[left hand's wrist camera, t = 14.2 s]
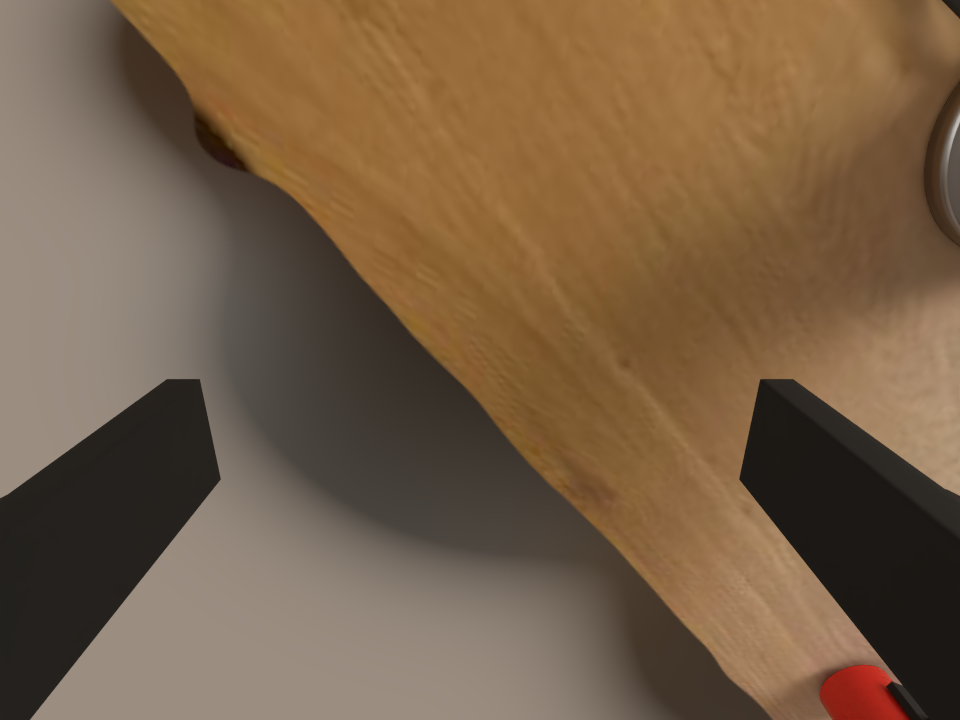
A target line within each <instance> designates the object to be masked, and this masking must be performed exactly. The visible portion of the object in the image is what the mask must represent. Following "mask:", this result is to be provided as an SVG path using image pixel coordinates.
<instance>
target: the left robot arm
mask: <svg viewBox="0 0 960 720" xmlns="http://www.w3.org/2000/svg"><path fill="white" fill-rule="evenodd" d="M942 1H943V2H944V3H945V4H946V5H947V6H948V7H949V8H950V9H951V10H952V11H953V12H954V13H955V14H956V15H957V16H958V17H959V18H960V0H942ZM925 191H926V196H927V201H928V204H929V207H930V210H931V213H932V215H933V217H934V219H935V221H936V222H937V224H938V225H939V227H940V228H941V229H942V230H943V232H944V233H945V234H946V235H947V236H948V237H949V238H950V239H952V240H953V241H954V242H956V243H957V244H959V245H960V82H959V83H958V84H957V86H956V87H955V89H954V90H953V92H952V93H951V95H950V96H949V98H948V100H947V102H946V103H945V105H944V107H943V109H942V111H941V113H940V115H939V117H938V119H937V122H936V124H935V127H934V129H933V132H932V135H931V138H930V142H929V145H928V150H927V155H926V162H925ZM220 479H221V478H220V474H219V469H218V464H217V459H216V455H215V450H214V445H213V440H212V436H211V431H210V426H209V421H208V416H207V412H206V407H205V402H204V398H203V393H202V388H201V383H200V379H167V380H165V381H164V382H163V383H161V384H160V385H158V386H157V387H156V388H154V389H153V390H152V391H150V392H149V393H147V394H146V395H145V396H143V397H142V398H141V399H139V400H138V401H136V402H135V403H134V404H132V405H131V406H129V407H128V408H127V409H125V410H124V411H123V412H121V413H120V414H118V415H117V416H116V417H114V418H113V419H111V420H110V421H109V422H107V423H106V424H105V425H103V426H102V427H101V428H99V429H98V430H96V431H95V432H94V433H92V434H91V435H89V436H88V437H87V438H85V439H84V440H82V441H81V442H80V443H78V444H77V445H76V446H74V447H73V448H71V449H70V450H69V451H67V452H66V453H65V454H63V455H62V456H60V457H59V458H58V459H56V460H55V461H54V462H52V463H51V464H49V465H48V466H47V467H45V468H44V469H42V470H41V471H40V472H38V473H37V474H36V475H34V476H33V477H31V478H30V479H29V480H27V481H26V482H25V483H23V484H22V485H20V486H19V487H18V488H16V489H15V490H13V491H12V492H11V493H9V494H8V495H6V496H4V497H2V498H0V720H30V719H31V718H32V716H33V715H34V714H35V713H36V711H37V710H38V709H39V707H40V706H41V705H42V704H43V703H44V701H45V700H46V699H47V697H48V696H49V695H50V694H51V692H52V691H53V690H54V689H55V687H56V686H57V685H58V684H59V682H60V681H61V680H62V679H63V677H64V676H65V675H66V674H67V672H68V671H69V670H70V669H71V667H72V666H73V665H74V663H75V662H76V661H77V660H78V658H79V657H80V656H81V655H82V653H83V652H84V651H85V650H86V648H87V647H88V646H89V645H90V643H91V642H92V641H93V639H94V638H95V637H96V636H97V634H98V633H99V632H100V631H101V629H102V628H103V627H104V626H105V624H106V623H107V622H108V621H109V619H110V618H111V617H112V616H113V614H114V613H115V612H116V611H117V609H118V608H119V607H120V605H121V604H122V603H123V602H124V600H125V599H126V598H127V597H128V595H129V594H130V593H131V592H132V590H133V589H134V588H135V587H136V585H137V584H138V583H139V582H140V580H141V579H142V578H143V577H144V575H145V574H146V573H147V572H148V570H149V569H150V568H151V566H152V565H153V564H154V563H155V561H156V560H157V559H158V558H159V556H160V555H161V554H162V553H163V551H164V550H165V549H166V548H167V546H168V545H169V544H170V542H171V541H172V540H173V539H174V537H175V536H176V535H177V534H178V532H179V531H180V530H181V529H182V527H183V526H184V525H185V524H186V522H187V521H188V520H189V519H190V517H191V516H192V515H193V514H194V512H195V511H196V510H197V509H198V507H199V506H200V505H201V503H202V502H203V501H204V500H205V498H206V497H207V496H208V495H209V493H210V492H211V491H212V490H213V488H214V487H215V486H216V485H217V483H218V482H219V481H220ZM739 480H740V481H741V482H742V483H743V485H744V486H745V487H746V488H747V490H748V491H749V492H750V493H751V495H752V496H753V497H754V498H755V500H756V501H757V502H758V503H759V505H760V506H761V507H762V509H763V510H764V511H765V512H766V514H767V515H768V516H769V517H770V519H771V520H772V521H773V522H774V524H775V525H776V526H777V527H778V529H779V530H780V531H781V532H782V534H783V535H784V536H785V537H786V539H787V540H788V541H789V543H790V544H791V545H792V546H793V548H794V549H795V550H796V551H797V553H798V554H799V555H800V556H801V558H802V559H803V560H804V561H805V563H806V564H807V565H808V566H809V568H810V569H811V570H812V572H813V573H814V574H815V575H816V577H817V578H818V579H819V580H820V582H821V583H822V584H823V585H824V587H825V588H826V589H827V590H828V592H829V593H830V594H831V595H832V597H833V598H834V599H835V600H836V602H837V603H838V604H839V606H840V607H841V608H842V609H843V611H844V612H845V613H846V614H847V616H848V617H849V618H850V619H851V621H852V622H853V623H854V624H855V626H856V627H857V628H858V629H859V631H860V632H861V633H862V635H863V636H864V637H865V638H866V640H867V641H868V642H869V643H870V645H871V646H872V647H873V648H874V650H875V651H876V652H877V653H878V655H879V656H880V657H881V658H882V660H883V661H884V662H885V663H886V665H887V666H888V667H889V669H890V670H891V671H892V672H893V674H894V675H895V676H896V677H897V679H898V680H899V681H900V682H901V684H902V685H903V686H904V687H905V689H906V690H907V691H908V692H909V694H910V695H911V696H912V697H913V699H914V700H915V701H916V703H917V704H918V705H919V706H920V708H921V709H922V710H923V711H924V713H925V714H926V715H927V716H928V718H929V719H930V720H960V496H959V495H957V494H955V493H953V492H951V491H949V490H945V489H944V488H942V487H941V486H940V485H938V484H937V483H936V482H934V481H933V480H931V479H930V478H929V477H927V476H926V475H924V474H923V473H922V472H920V471H919V470H918V469H916V468H915V467H913V466H912V465H911V464H909V463H908V462H907V461H905V460H904V459H902V458H901V457H900V456H898V455H897V454H895V453H894V452H893V451H891V450H890V449H889V448H887V447H886V446H884V445H883V444H882V443H880V442H879V441H878V440H876V439H875V438H873V437H872V436H871V435H869V434H868V433H866V432H865V431H864V430H862V429H861V428H860V427H858V426H857V425H855V424H854V423H853V422H851V421H850V420H849V419H847V418H846V417H844V416H843V415H842V414H840V413H839V412H837V411H836V410H835V409H833V408H832V407H831V406H829V405H828V404H826V403H825V402H824V401H822V400H821V399H820V398H818V397H817V396H815V395H814V394H813V393H811V392H810V391H808V390H807V389H806V388H804V387H803V386H802V385H800V384H799V383H797V382H796V381H795V380H793V379H760V383H759V388H758V393H757V397H756V402H755V407H754V412H753V416H752V421H751V426H750V431H749V435H748V440H747V445H746V450H745V454H744V459H743V464H742V469H741V474H740V478H739Z"/></svg>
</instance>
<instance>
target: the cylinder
mask: <svg viewBox="0 0 960 720" xmlns="http://www.w3.org/2000/svg"><path fill="white" fill-rule="evenodd" d="M891 681H892V680H891V678H890V677H889V676H888V674H887V673H886V672H885V671H883V670H882V669H880V668H878V667H875V666H870V665H858V666H852V667H848V668H845V669H842V670H840V671H838V672H836V673H835V674H833V675H832V676H831V677H829V678H828V679H827V680H826V681H825V683H824V684H823V686H822V688H821V690H820V700H821V703H822V704H823V706H824V708H825V709H826V711H827V712H828V714H829V716H830V717H831V719H832V720H911V719H910V718H909V716H908V715H907V714H906V712H905V711H904V710H903V708H902V707H901V706H900V704H899V703H898V702H897V700H896V699H895V698H894V696H893V695H892V694H891V693H890V691H889V690H888V689H887V687H886V686H887V685H888V684H889V683H890V682H891ZM892 682H893V681H892Z"/></svg>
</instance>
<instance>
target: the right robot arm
mask: <svg viewBox="0 0 960 720" xmlns="http://www.w3.org/2000/svg"><path fill="white" fill-rule="evenodd" d="M886 687H887V689H888V690H889V691H890V693H891V694H892V695H893V696H894V698H895V699H896V700H897V702H898V703H899V704H900V706H901V707H902V708H903V710H904V711H905V712H906V714H907V715H908V716H909V718H910V719H911V720H930V719H929V718H928V716H927V715H926V714H925V713H924V711H923V710H922V709H921V708H920V706H919V705H918V704H917V703H916V701H915V700H914V699H913V697H912V696H911V695H910V694H909V692H908V691H907V690H906V689H905V687H904V686H902V685H899V684H897V683H894V682H892V681H891V682H890V683H889V684H888V685H887V686H886Z"/></svg>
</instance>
